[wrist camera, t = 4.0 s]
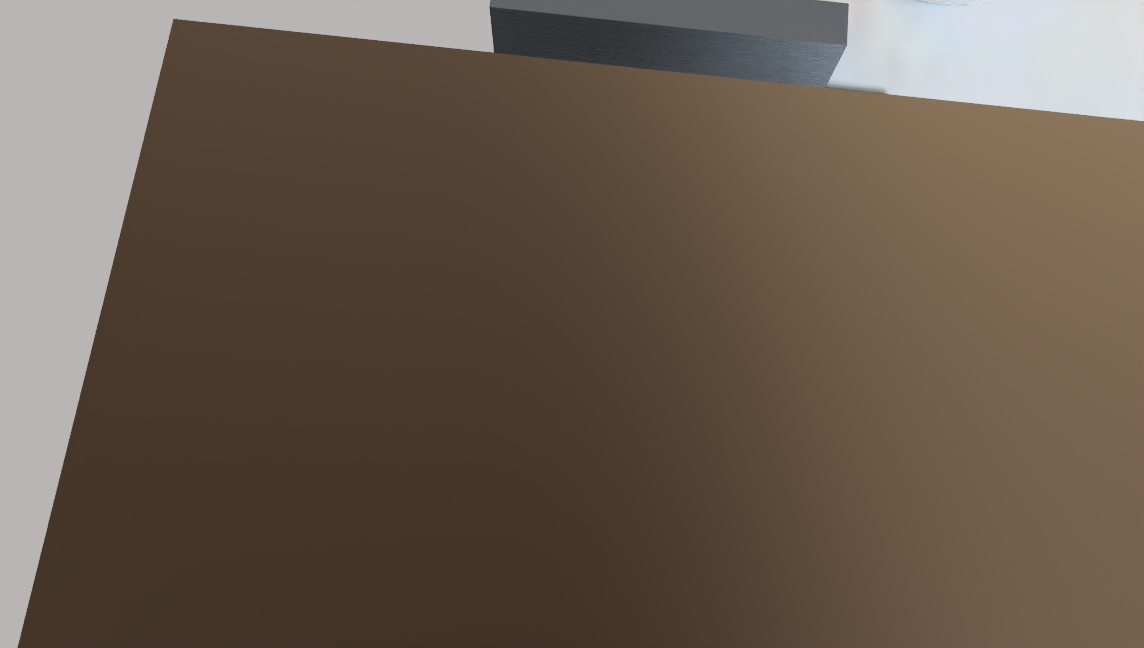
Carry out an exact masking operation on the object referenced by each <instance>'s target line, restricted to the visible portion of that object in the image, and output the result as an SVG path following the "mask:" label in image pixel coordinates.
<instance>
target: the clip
mask: <svg viewBox="0 0 1144 648" xmlns="http://www.w3.org/2000/svg"><path fill="white" fill-rule="evenodd" d="M490 15H491V25H492V35H493V44H494V53H500V54H510V55H519V56H529V57H538V58H547V59H557V60H566V61H576V62H585V63H595V64H604V65H614V66H623V67H633V68H642V69H652V70H661V71H671V72H680V73H690V74H699V75H708V76H718V77H727V78H737V79H746V80H756V81H765V82H775V83H784V84H794V85H803V86H813V87H822V88H825V87H826V85H827V83H828V81H829V79H830V77H831V75H832V73H833V71H834V69H835V67H836V65H837V64H838V62H839V60H840V58H841V56H842V54H843V52H844V50H845V48H846V46H847V29H848V4H847V3H837V2H828V1H819V0H491V1H490Z"/></svg>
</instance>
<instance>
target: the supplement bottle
mask: <svg viewBox="0 0 1144 648" xmlns="http://www.w3.org/2000/svg"><path fill="white" fill-rule="evenodd" d="M920 1H924V2H929V3H934V4H940V5H950V6H965V5H975V4H981V3H987V2H991V1H994V0H920Z"/></svg>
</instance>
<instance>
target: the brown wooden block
mask: <svg viewBox="0 0 1144 648" xmlns="http://www.w3.org/2000/svg"><path fill="white" fill-rule="evenodd" d="M18 648H1144V121H1135V120H1125V119H1116V118H1106V117H1097V116H1087V115H1078V114H1068V113H1059V112H1050V111H1040V110H1031V109H1021V108H1012V107H1002V106H993V105H983V104H974V103H964V102H955V101H945V100H936V99H926V98H917V97H907V96H898V95H888V94H879V93H870V92H860V91H851V90H841V89H832V88H822V87H813V86H803V85H794V84H784V83H775V82H765V81H756V80H746V79H737V78H727V77H718V76H708V75H699V74H690V73H680V72H671V71H661V70H652V69H642V68H633V67H623V66H614V65H604V64H595V63H585V62H576V61H566V60H557V59H547V58H538V57H529V56H519V55H510V54H500V53H491V52H481V51H471V50H462V49H452V48H443V47H434V46H423V45H415V44H405V43H396V42H386V41H377V40H367V39H358V38H348V37H339V36H329V35H320V34H310V33H301V32H291V31H281V30H273V29H263V28H254V27H244V26H234V25H225V24H216V23H206V22H196V21H187V20H178V19H174V20H173V24H172V28H171V32H170V36H169V40H168V44H167V48H166V53H165V56H164V60H163V64H162V68H161V72H160V76H159V80H158V84H157V88H156V92H155V96H154V100H153V104H152V108H151V112H150V116H149V121H148V124H147V128H146V132H145V136H144V141H143V145H142V149H141V153H140V157H139V161H138V165H137V169H136V173H135V177H134V181H133V185H132V189H131V193H130V197H129V201H128V205H127V209H126V213H125V217H124V221H123V225H122V229H121V233H120V238H119V241H118V246H117V249H116V254H115V257H114V262H113V266H112V270H111V274H110V278H109V282H108V286H107V290H106V294H105V298H104V302H103V306H102V310H101V314H100V318H99V322H98V326H97V330H96V334H95V338H94V342H93V346H92V350H91V354H90V359H89V362H88V366H87V370H86V375H85V378H84V382H83V386H82V390H81V394H80V399H79V403H78V407H77V411H76V415H75V419H74V423H73V427H72V431H71V435H70V439H69V443H68V447H67V451H66V455H65V459H64V463H63V467H62V471H61V475H60V479H59V484H58V487H57V492H56V495H55V499H54V503H53V507H52V512H51V515H50V520H49V523H48V528H47V532H46V536H45V540H44V544H43V548H42V552H41V556H40V560H39V564H38V568H37V572H36V576H35V580H34V584H33V588H32V592H31V596H30V600H29V604H28V608H27V612H26V616H25V620H24V624H23V628H22V632H21V637H20V641H19V644H18Z"/></svg>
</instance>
